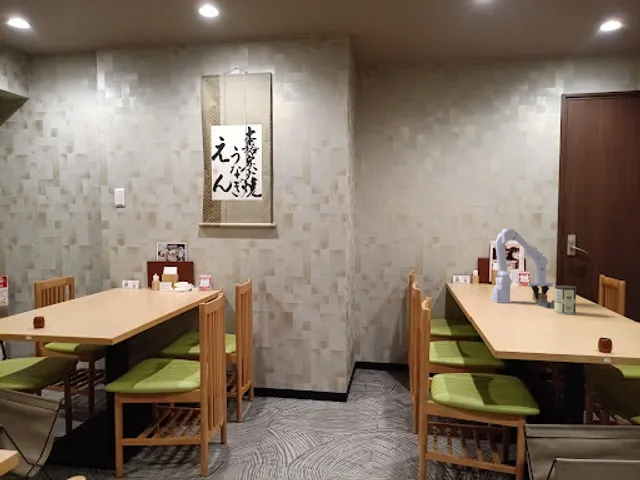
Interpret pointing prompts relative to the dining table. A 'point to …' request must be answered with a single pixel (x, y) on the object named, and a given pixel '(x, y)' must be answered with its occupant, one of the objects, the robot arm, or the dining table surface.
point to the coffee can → (565, 299)
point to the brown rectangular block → (540, 297)
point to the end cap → (546, 304)
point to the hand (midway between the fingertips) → (539, 298)
